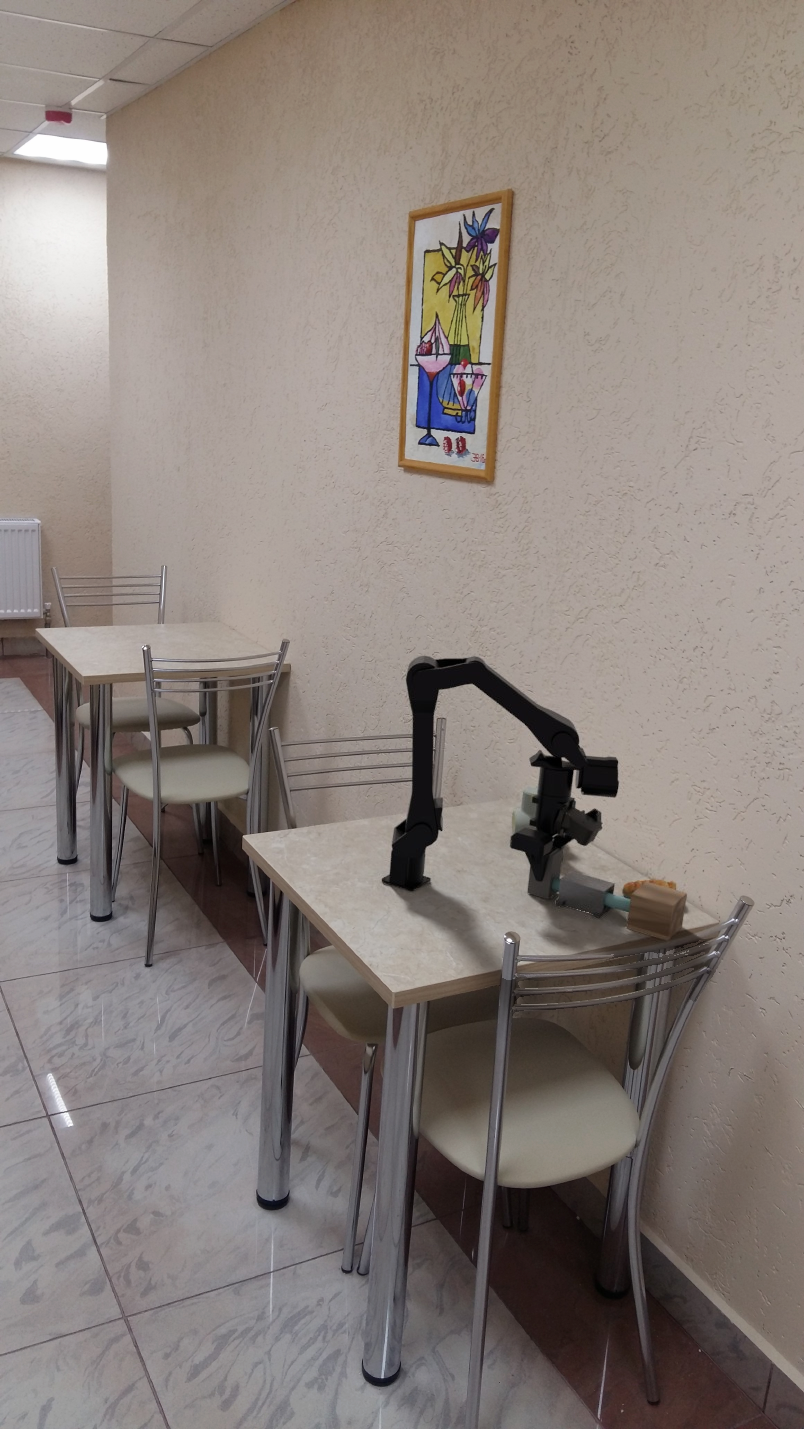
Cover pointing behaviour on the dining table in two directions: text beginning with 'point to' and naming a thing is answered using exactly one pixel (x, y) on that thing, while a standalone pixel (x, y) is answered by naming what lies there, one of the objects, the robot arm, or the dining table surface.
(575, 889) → the sleeve
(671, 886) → the pastry
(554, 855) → the tube
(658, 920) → the socket block
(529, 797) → the air freshener
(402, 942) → the dining table surface
